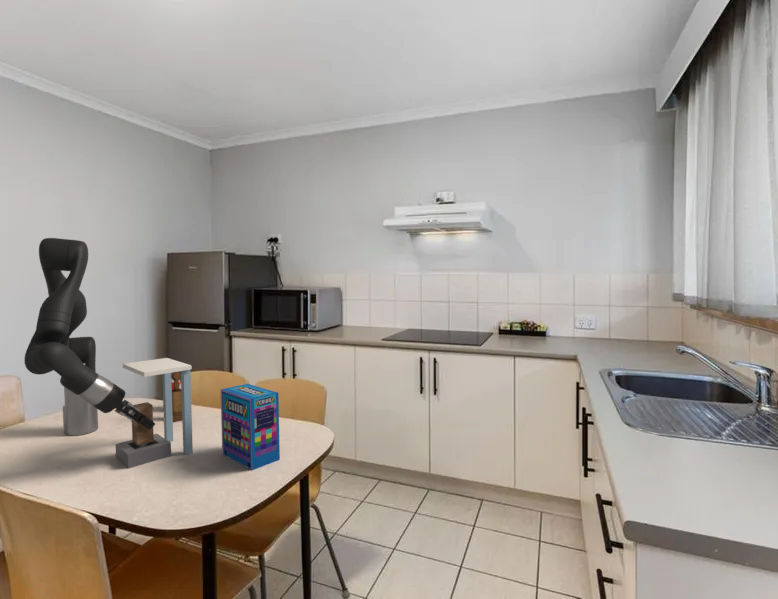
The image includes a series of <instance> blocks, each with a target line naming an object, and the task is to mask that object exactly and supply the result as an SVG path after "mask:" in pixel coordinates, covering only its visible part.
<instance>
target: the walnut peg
mask: <svg viewBox="0 0 778 599" xmlns="http://www.w3.org/2000/svg"><path fill="white" fill-rule="evenodd" d="M132 405H133V406H134V407H136V408H137V409H139V410H140V413H142V414H143V415H146V417H147V418H148V419H150V420H151V421H153V422H154V415H153V414H154V413H153V411H154V410H153V409H154V408H153V404H152V403H150V402H141V403H137V404H132ZM140 417H141V415H140V416H139V417H138V418H137V420H138V419H139V418H140ZM131 433H132V434H131V436H132V437H131V438H132V439H131V440H132V442H134V443H135V444H136V445H141V444H144V443H148V442H152V441H154V434H155V433H154V427H153V428H152V429H148V428H146V427H145V426H143V425H142V424H140V423H139V424H138V423H137V422H136V421H135V420H131Z"/></svg>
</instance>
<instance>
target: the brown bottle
mask: <svg viewBox="0 0 778 599" xmlns="http://www.w3.org/2000/svg"><path fill="white" fill-rule="evenodd" d="M171 379H173V380H174V384H173V387H174V390H172V416H173V423H174V422H182V393H181V389H179V386H180V384H179V383H178V381H179V379H180V380H181V372H180V371H178V372H172V373H171Z"/></svg>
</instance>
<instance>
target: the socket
mask: <svg viewBox="0 0 778 599" xmlns="http://www.w3.org/2000/svg"><path fill="white" fill-rule="evenodd" d="M153 434H154V441H152V442H148V443H144V444H141V445H136V444H135V443H134V442H132V439H130V440H125V441H122V442H118V443H115V458H117V459H118V460H119V462H121V463H122V464H123V465H124V466H125V467H126V468H127V469H131V468H134V467H137V466H141V465H144V464H148V463H151V462H154V461H158V460H161V459H165V458H167V457H168V458H169V457H171V456H172V445H171V444H172V441H168V440H166V439H164V437H163V436H161V435H160V434H159V433H153Z"/></svg>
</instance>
